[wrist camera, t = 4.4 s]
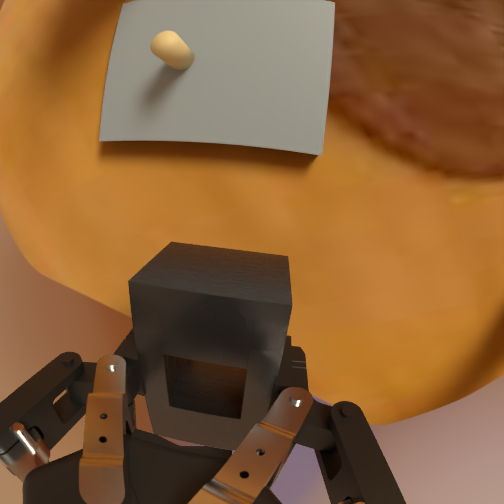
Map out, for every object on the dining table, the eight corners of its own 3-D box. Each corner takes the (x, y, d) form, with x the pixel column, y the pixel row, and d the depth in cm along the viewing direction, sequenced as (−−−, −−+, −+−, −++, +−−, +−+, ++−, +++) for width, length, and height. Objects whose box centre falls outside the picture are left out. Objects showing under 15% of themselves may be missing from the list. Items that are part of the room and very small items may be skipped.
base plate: (331, 10, 15) (344, -21, 10) (318, 155, 19) (332, 156, 15) (130, 9, 16) (102, -14, 11) (109, 141, 20) (71, 142, 15)
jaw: (171, 241, 13) (128, 281, 9) (288, 256, 13) (292, 305, 9) (176, 379, 16) (153, 433, 12) (264, 393, 16) (259, 452, 12)
